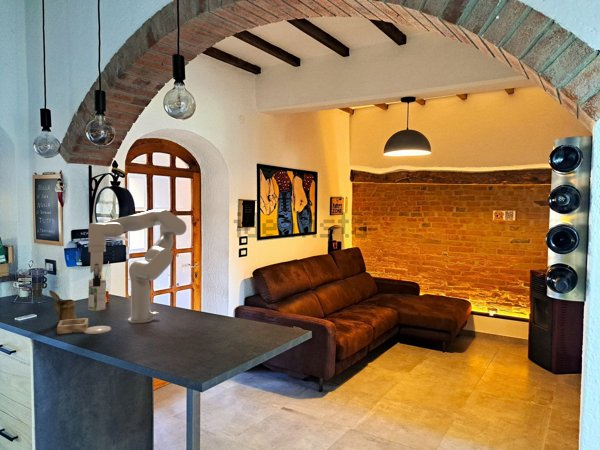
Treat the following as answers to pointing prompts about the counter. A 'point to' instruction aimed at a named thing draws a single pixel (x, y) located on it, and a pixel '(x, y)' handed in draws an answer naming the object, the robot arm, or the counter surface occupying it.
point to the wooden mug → (64, 308)
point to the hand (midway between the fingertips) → (97, 284)
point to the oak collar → (72, 325)
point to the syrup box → (97, 296)
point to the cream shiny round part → (97, 329)
